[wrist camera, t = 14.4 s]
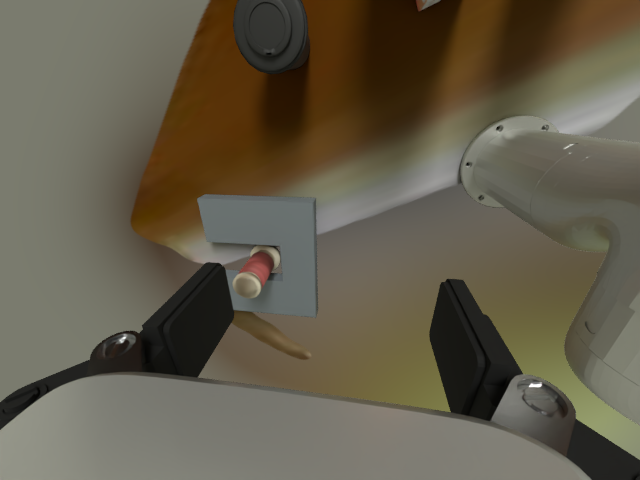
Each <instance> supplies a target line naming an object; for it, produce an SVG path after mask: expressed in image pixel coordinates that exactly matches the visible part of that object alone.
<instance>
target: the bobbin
mask: <svg viewBox="0 0 640 480" xmlns="http://www.w3.org/2000/svg"><path fill="white" fill-rule="evenodd" d="M280 262H281V255H280V252H279V250H278V249H277V248H276V247H275V246H273V245H256V246H255V247H254V248H253V249H252V251H251V254H250V259H249V260H248V261H247V263H246V264H245V265H244V267H243V268H242V269H241V271H240V272H239V273H238V275H237V276H236V277H235V278H234V280H233V288H234V290H235V292H236V293H237V294H238V295H240V296H242V297H244V298H255V297H257V296H258V295H259V293H260V291H261V289H262V288H263V286H264V284H265V282H266V281H267V279H268V277H269V275H270V274H271V272H272V271H273V270H275V269H276V268H277V267H278V266H279V264H280Z"/></svg>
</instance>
